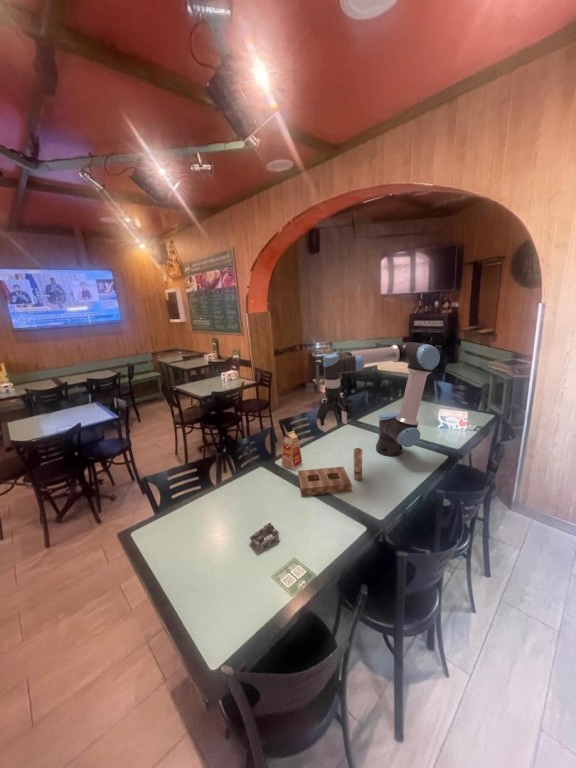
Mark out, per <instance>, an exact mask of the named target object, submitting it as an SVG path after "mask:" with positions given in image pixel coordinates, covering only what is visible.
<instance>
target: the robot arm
mask: <svg viewBox="0 0 576 768" xmlns="http://www.w3.org/2000/svg"><path fill="white" fill-rule="evenodd" d="M440 355H441V354H440V351H439V350H438V349H437V348H436V347H435V346H433V345H430V344H427V343H420V342H414V341H413V342H403V343H397V344H395V343H394V344H392V345H391V346H388V347H378V348H372V349H371V348H370V349H361V350H355V351H345V352H341V351H335V352H333V353H330V354H326V355H324V356H323V364H322V365H323V376H324V386H325V387H324V392H325V393H324V394H325V398H321V399H320V404H319V407H318V411H317V414H316V419H317V420H320V421H319V424H320V426H321V431H322V432H325V433H327V419H326V417H327V415H328V413H329V411H330V409H331V408H332V407H333V406H337V405H338V406H339V407H340V408H341V423H342V424H345V425H347V424H348V420H347V419H348V413H349V411H350V410H351V406H350V404H349V402H348V400H347V397H346V394H345V393H344V392H342V391H341V374H347V373H357V372H359V371H360V372H361V371H363V369H364V367H365V365H368V364H369V365H370V364H376V363H377V364H378V363H384V362H385V363H387V362H391V361H392V362H393V363H405V364H407V367H406V368H407V369H408V373H409V374H408V377H407V381H406V386H405V390H404V394H403V399H402V403H401V406H400V410H399V411H400V412H396V411H394V412H393V411H388V412H382V413H380V415H379V417H378V425H379V426H378V439H377V442H376V443H375V444H376V445H375V451H376V452H377V453H378V454H380V455H383V456H386V457H397V456H401V455H402V454H403V451H404V448H410V447H414V445H416V444H417V443H418V442H419V440H420V438H421V432H420V429H418V427H419V421H418V419H417V417H418V413H419V410H420V405H421V402H422V397H423V392H424V389H425V385H426V381H427V376H429V375H430V374H432V371H433V370H434V369H435V368H436V367H437V366H438V365H439V364H440V363H439V362H440V358H441V356H440Z"/></svg>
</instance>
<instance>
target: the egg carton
mask: <svg viewBox="0 0 576 768" xmlns="http://www.w3.org/2000/svg"><path fill="white" fill-rule="evenodd" d="M268 532H269V533H270V532H271V533H272V536H269V535H268V536H267V533H268ZM265 536H266V537H265ZM279 536H280V532H279V531H278V530H277V529H275V527H274V525H273V524H272V523H271V522H269V523H267V524H265V525H264V526H263V527H262V528H260V529H259V530H258V531H255V532H254V533H253V534H252V535H251V536H249V540H250V545H251V546H255V550H256V551H264V547H266V546H268V547H270V546H271V545H272V542H278V541H279V538H280V537H279Z"/></svg>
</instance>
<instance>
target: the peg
mask: <svg viewBox="0 0 576 768" xmlns="http://www.w3.org/2000/svg"><path fill="white" fill-rule="evenodd" d="M353 479H354V480H355V481H357V482H359V481H362V480H363V449H362V448H359V447H356V448H353Z"/></svg>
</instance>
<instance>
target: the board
mask: <svg viewBox="0 0 576 768" xmlns="http://www.w3.org/2000/svg"><path fill="white" fill-rule="evenodd" d="M297 477H298V478H299V479H298V483H299V490H300V496H301V497H306V496H307V497H308V496H315V495H316V494H318V495H325V493H328V494H336V493H337V494H338V493H347V492H348V493H349V492H352V490H353V489H352V488H353V487H352V482H351V479H350V477H349V475H348V473H347V470H346V468H345V466H333V467H325V468H314V469H313V468H312V469H305V470H304V469H303V470H297ZM316 496H317V495H316Z"/></svg>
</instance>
